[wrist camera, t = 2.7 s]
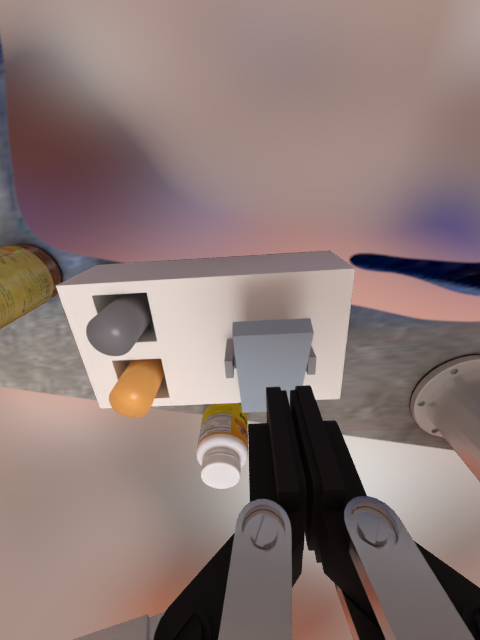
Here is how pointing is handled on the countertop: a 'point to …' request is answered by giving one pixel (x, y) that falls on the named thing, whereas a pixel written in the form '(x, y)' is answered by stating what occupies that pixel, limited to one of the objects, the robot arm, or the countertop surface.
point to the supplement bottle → (222, 444)
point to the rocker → (270, 357)
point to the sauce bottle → (25, 281)
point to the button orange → (137, 387)
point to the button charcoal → (120, 324)
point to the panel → (214, 319)
